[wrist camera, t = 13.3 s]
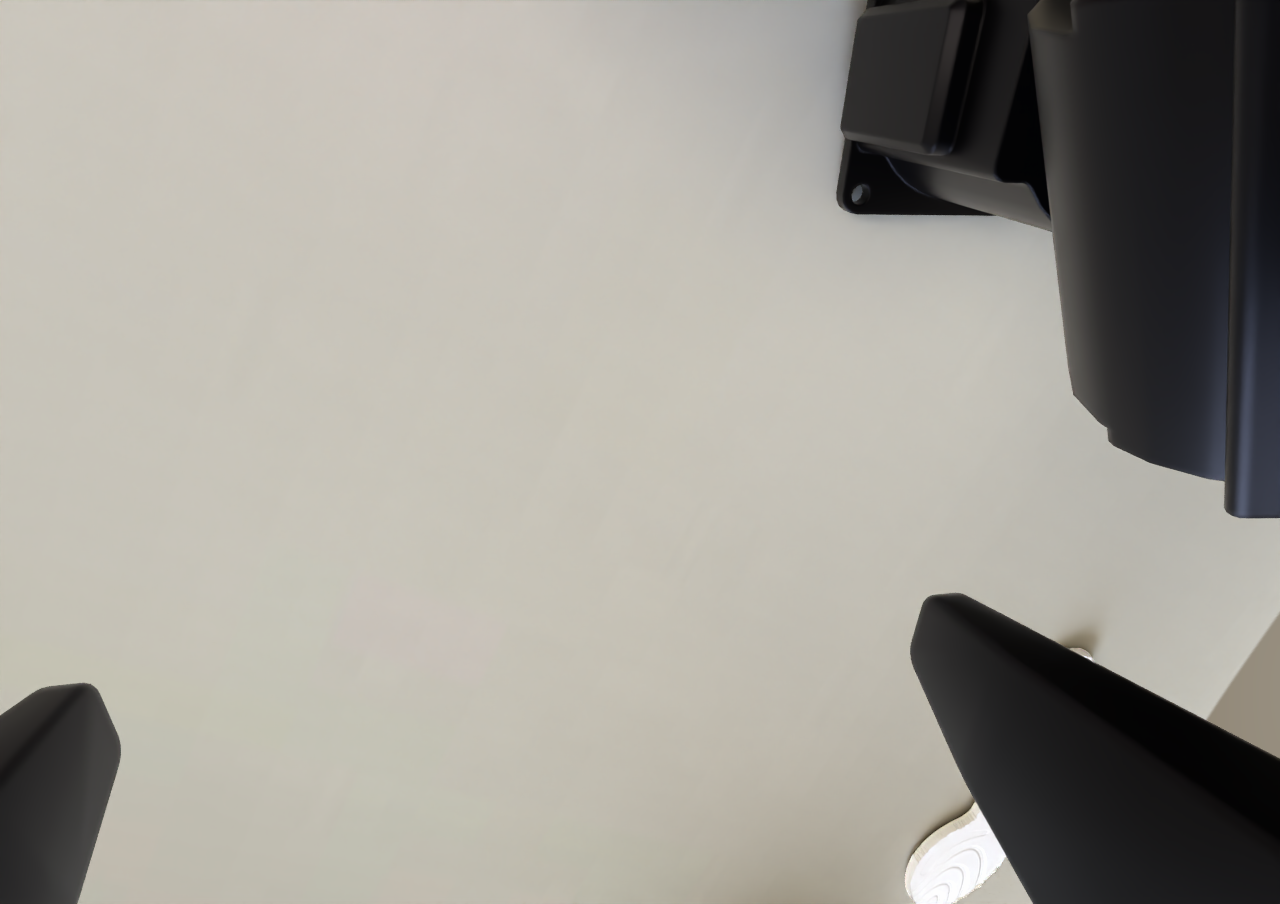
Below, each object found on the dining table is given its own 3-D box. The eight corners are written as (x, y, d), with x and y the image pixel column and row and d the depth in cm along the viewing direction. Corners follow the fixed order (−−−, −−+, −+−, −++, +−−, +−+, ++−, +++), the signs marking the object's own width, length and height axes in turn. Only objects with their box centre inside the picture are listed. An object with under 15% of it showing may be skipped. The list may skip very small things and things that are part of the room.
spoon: (1124, 647, 31) (1134, 656, 31) (971, 896, 39) (976, 906, 39) (1023, 648, 30) (1031, 657, 29) (885, 906, 38) (890, 916, 37)
